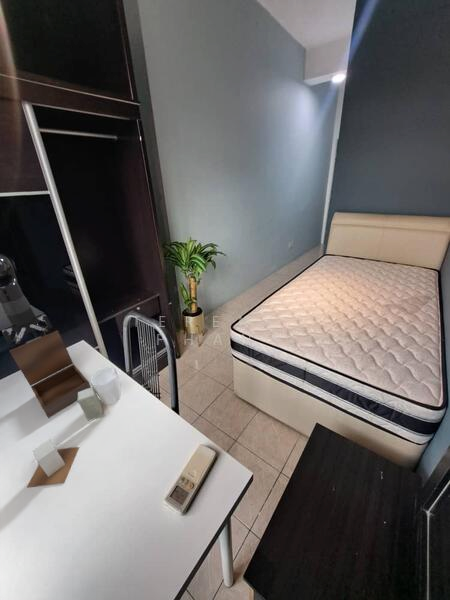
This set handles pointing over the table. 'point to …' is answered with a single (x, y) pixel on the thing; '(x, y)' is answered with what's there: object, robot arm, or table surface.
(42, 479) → the pad
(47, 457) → the light grey block
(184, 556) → the table surface
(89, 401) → the box
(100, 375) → the cup
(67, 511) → the table surface
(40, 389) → the chest
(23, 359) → the lid
